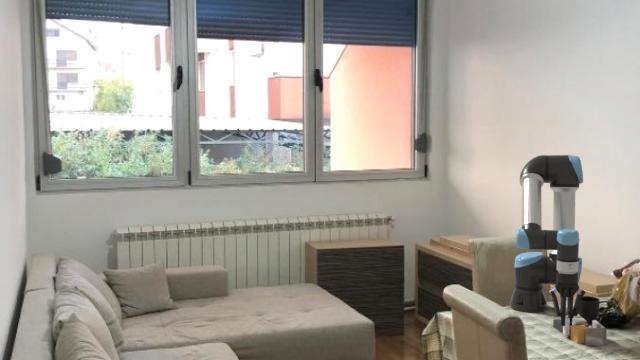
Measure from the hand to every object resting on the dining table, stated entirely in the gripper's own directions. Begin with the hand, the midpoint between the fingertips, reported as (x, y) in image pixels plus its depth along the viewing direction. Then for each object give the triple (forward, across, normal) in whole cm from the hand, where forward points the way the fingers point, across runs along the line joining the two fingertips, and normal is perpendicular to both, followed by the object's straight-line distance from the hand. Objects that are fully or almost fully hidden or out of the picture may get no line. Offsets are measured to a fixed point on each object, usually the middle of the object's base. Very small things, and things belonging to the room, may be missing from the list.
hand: (566, 334), depth 259 cm
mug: (+1, +16, +17) cm, 23 cm away
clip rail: (+1, +8, +2) cm, 8 cm away
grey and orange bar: (+1, +3, +3) cm, 5 cm away
